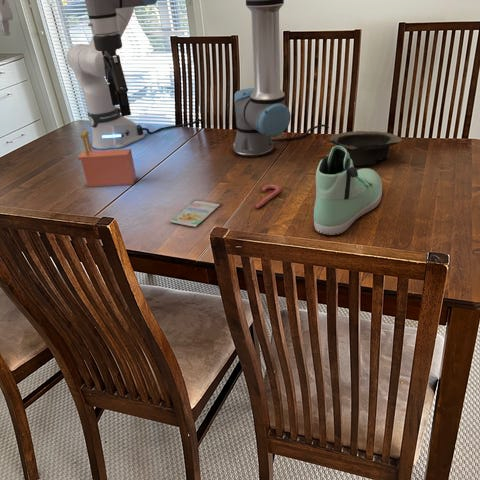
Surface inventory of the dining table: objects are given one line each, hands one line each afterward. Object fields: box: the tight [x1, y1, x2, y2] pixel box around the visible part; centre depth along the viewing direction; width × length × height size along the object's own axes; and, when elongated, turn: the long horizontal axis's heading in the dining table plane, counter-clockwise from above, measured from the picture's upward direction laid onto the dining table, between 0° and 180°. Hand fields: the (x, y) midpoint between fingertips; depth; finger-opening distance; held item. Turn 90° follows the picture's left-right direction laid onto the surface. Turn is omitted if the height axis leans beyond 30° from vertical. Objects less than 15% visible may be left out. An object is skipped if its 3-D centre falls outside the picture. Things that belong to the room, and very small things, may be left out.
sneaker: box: [313, 145, 383, 236], centre depth 133 cm, size 14×35×20 cm, turn 152°
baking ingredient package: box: [169, 199, 221, 228], centre depth 142 cm, size 9×1×15 cm
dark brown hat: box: [328, 130, 403, 167], centre depth 168 cm, size 25×25×9 cm
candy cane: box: [254, 184, 282, 209], centre depth 148 cm, size 6×15×2 cm, turn 145°
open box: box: [80, 152, 137, 188], centre depth 165 cm, size 16×5×10 cm, turn 89°
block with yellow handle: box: [77, 130, 132, 161], centre depth 160 cm, size 17×5×8 cm, turn 89°
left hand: (1, 34), depth 160 cm, fingers open, 8 cm apart
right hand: (121, 110), depth 144 cm, fingers open, 13 cm apart
